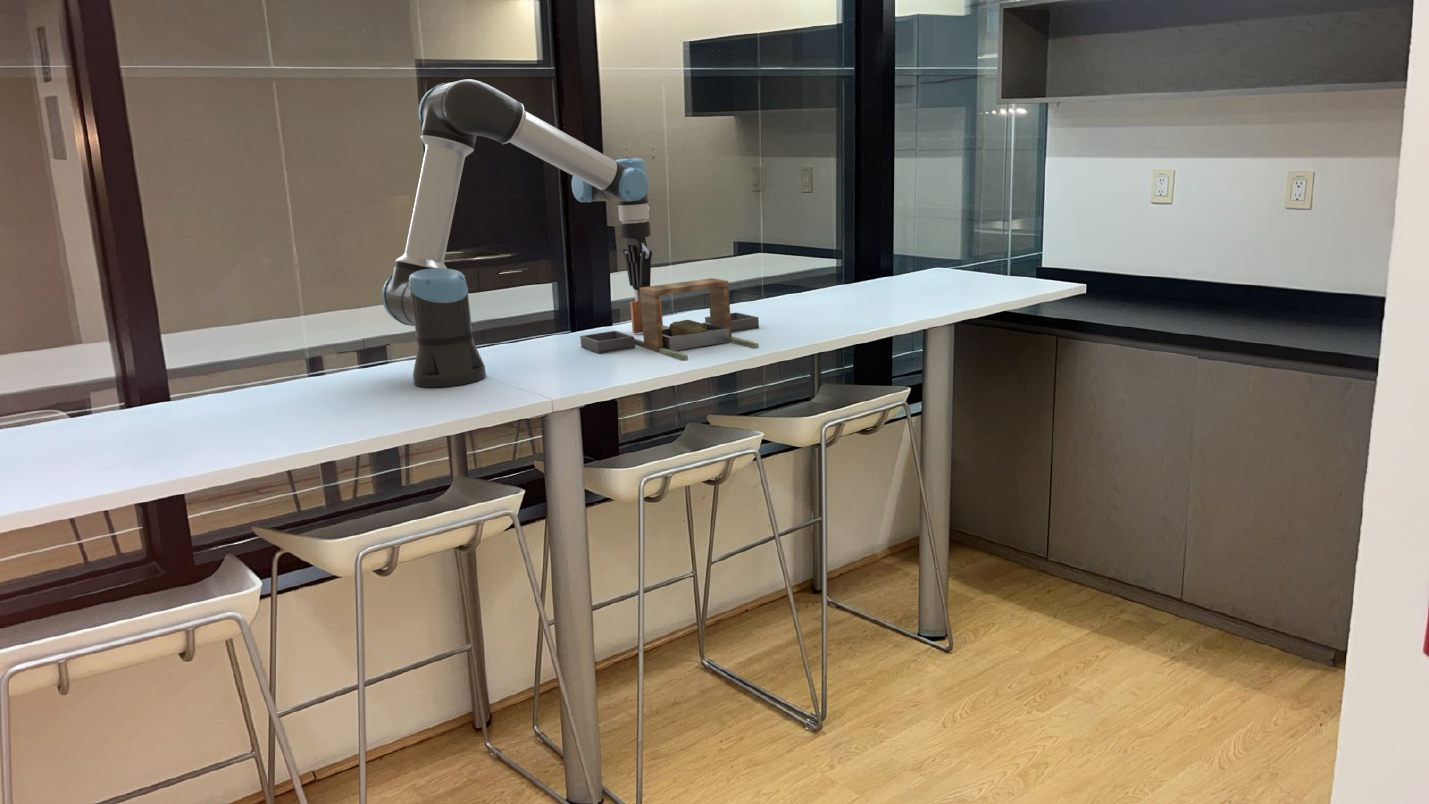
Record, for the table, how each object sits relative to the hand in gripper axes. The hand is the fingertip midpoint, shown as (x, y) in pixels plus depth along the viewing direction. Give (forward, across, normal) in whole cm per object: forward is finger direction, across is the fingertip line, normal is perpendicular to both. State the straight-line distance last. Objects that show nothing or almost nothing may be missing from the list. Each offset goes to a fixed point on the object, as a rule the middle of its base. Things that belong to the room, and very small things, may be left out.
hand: (642, 314), depth 271 cm
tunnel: (+4, -23, 0) cm, 24 cm away
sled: (+4, -17, 0) cm, 17 cm away
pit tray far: (+4, -14, -18) cm, 23 cm away
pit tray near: (+4, -14, +16) cm, 22 cm away
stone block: (+4, -26, 0) cm, 26 cm away
